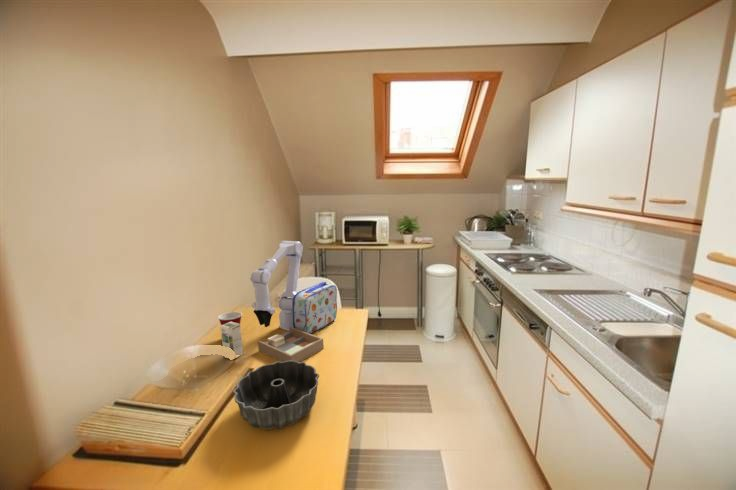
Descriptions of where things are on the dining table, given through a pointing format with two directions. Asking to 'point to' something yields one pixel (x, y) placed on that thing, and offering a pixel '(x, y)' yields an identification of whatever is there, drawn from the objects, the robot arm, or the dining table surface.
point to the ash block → (276, 340)
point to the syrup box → (232, 337)
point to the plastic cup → (230, 317)
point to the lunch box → (314, 307)
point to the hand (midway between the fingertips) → (264, 325)
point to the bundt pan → (277, 394)
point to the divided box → (293, 346)
